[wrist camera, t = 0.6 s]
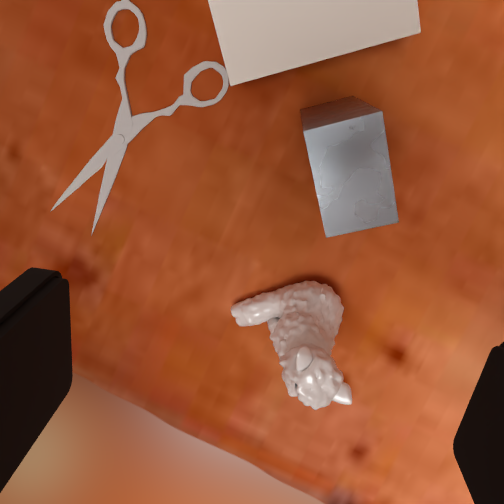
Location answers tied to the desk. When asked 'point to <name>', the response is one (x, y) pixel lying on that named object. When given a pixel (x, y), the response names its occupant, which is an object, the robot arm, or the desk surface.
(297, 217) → the desk surface
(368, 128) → the brushed steel block
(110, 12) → the scissors
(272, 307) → the seated beast figurine
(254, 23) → the post base
